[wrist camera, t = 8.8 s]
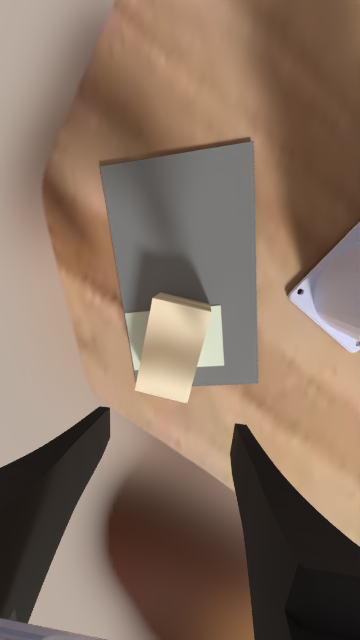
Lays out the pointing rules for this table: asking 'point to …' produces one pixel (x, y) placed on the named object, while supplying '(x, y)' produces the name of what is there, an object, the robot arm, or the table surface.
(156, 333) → the beige wooden block
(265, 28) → the table surface
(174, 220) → the mat
